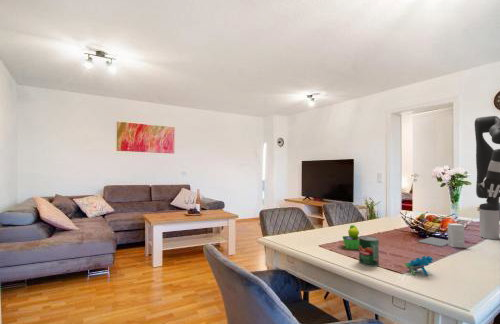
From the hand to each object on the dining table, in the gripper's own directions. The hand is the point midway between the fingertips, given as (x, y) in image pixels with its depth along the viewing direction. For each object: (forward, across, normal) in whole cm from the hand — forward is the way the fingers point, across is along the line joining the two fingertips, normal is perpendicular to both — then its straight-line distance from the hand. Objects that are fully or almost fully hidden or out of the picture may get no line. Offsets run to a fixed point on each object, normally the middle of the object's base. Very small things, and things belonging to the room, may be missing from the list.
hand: (489, 203), depth 138 cm
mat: (+29, +18, -5) cm, 34 cm away
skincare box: (+27, +9, 0) cm, 28 cm away
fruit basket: (+30, +57, +31) cm, 71 cm away
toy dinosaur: (+22, +30, +54) cm, 66 cm away
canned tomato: (+25, +48, +53) cm, 76 cm away
